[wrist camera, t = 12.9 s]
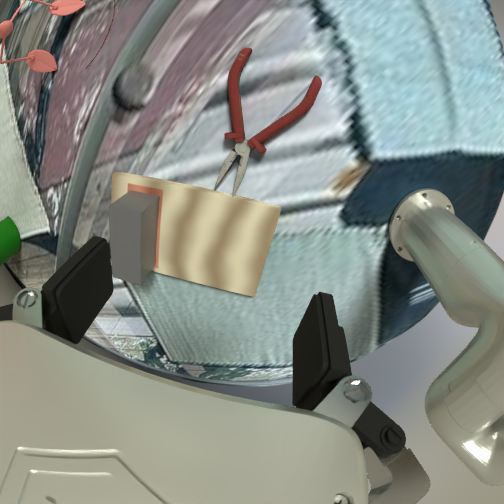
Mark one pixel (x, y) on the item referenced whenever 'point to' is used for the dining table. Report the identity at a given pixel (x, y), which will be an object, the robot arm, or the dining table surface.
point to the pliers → (246, 145)
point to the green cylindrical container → (8, 239)
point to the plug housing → (133, 235)
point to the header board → (207, 232)
